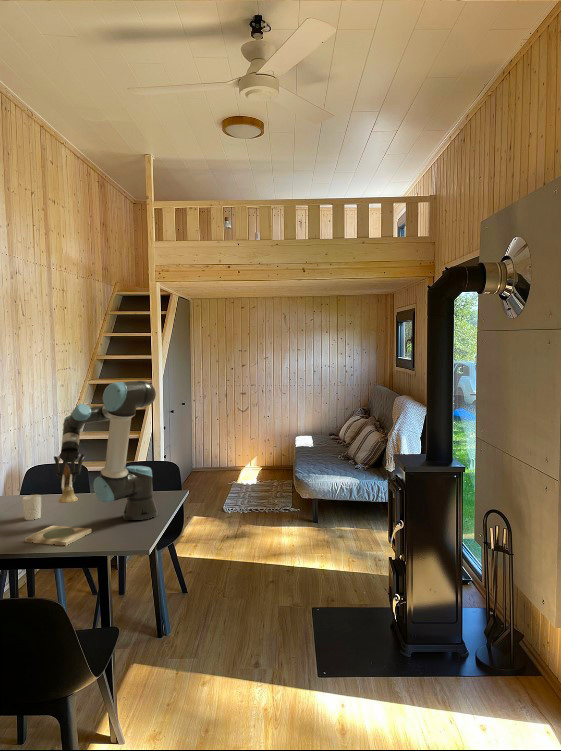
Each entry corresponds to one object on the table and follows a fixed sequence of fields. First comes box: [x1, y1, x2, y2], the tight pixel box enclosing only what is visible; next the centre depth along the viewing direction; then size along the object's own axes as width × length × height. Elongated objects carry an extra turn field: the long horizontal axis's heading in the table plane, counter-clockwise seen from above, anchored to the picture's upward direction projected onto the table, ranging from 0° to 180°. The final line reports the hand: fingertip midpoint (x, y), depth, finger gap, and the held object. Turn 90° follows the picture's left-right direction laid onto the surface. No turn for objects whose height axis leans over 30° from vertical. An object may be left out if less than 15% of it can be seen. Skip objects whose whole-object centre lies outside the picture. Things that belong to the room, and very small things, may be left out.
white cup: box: [22, 494, 42, 521], centre depth 252 cm, size 8×8×10 cm
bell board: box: [24, 525, 93, 547], centre depth 225 cm, size 20×16×2 cm
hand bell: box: [57, 464, 79, 504], centre depth 242 cm, size 8×8×16 cm
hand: (66, 488), depth 238 cm, fingers closed on hand bell, 2 cm apart
